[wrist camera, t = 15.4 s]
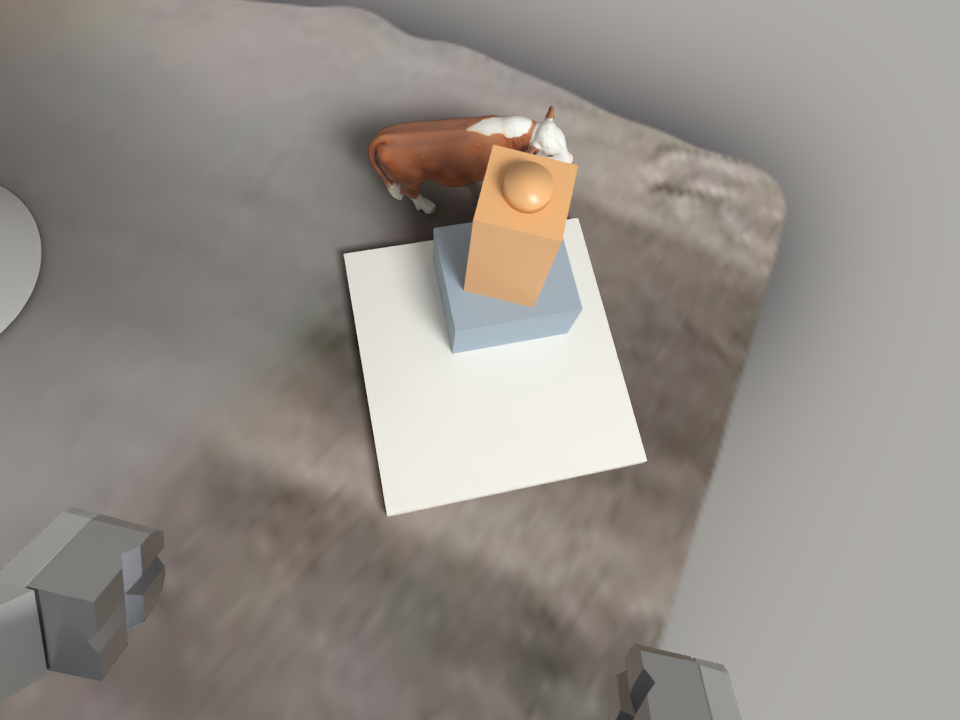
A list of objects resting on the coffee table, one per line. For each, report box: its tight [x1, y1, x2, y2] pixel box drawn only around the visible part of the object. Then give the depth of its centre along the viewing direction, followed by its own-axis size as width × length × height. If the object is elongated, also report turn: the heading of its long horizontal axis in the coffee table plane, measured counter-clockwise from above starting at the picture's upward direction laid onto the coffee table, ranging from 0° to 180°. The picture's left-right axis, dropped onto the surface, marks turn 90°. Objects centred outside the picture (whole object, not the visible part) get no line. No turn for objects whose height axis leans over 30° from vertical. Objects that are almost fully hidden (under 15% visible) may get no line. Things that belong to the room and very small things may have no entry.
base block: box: [433, 222, 583, 354], centre depth 41 cm, size 8×7×4 cm
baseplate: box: [344, 218, 647, 517], centre depth 43 cm, size 17×18×1 cm
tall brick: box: [464, 145, 578, 308], centre depth 35 cm, size 4×4×9 cm
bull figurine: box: [368, 106, 573, 214], centre depth 43 cm, size 4×14×8 cm, turn 92°
